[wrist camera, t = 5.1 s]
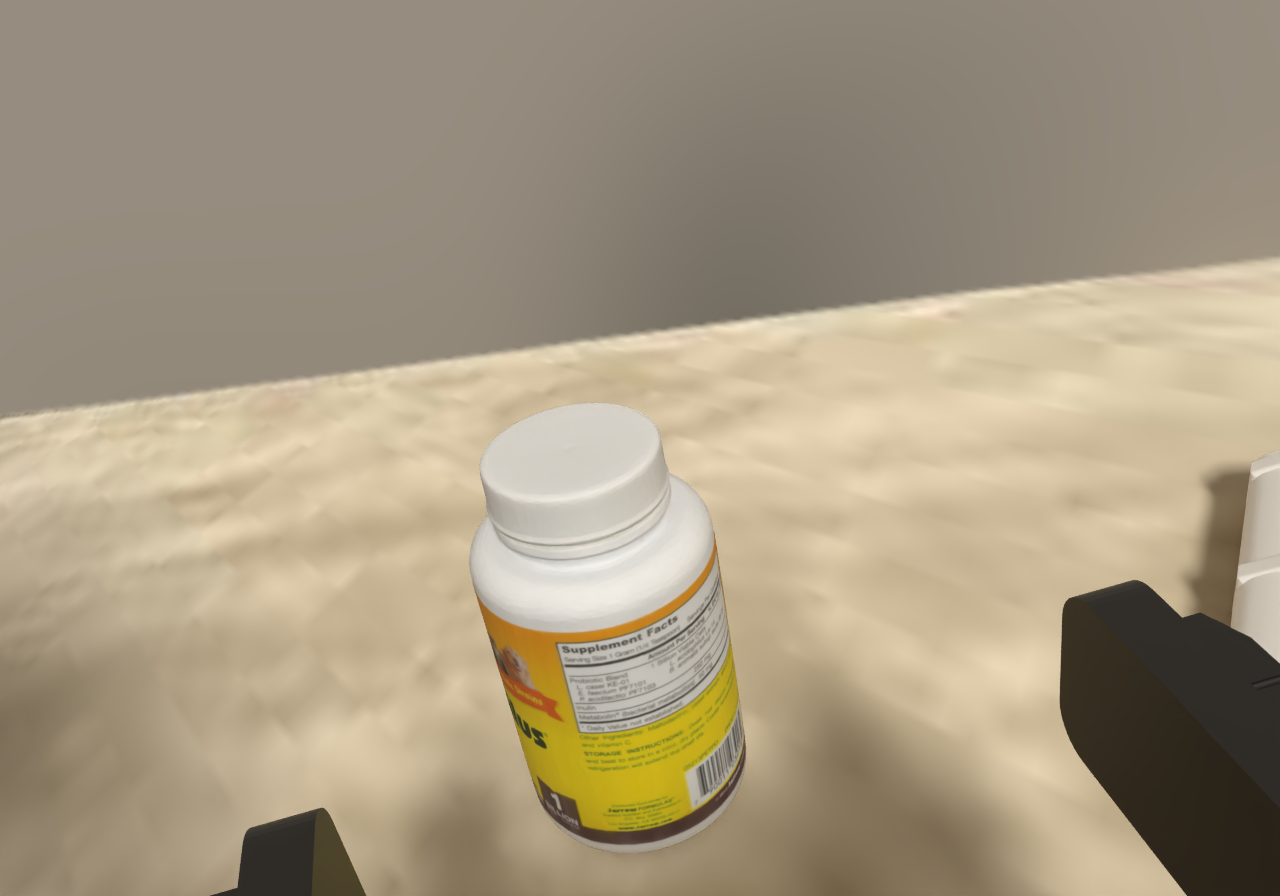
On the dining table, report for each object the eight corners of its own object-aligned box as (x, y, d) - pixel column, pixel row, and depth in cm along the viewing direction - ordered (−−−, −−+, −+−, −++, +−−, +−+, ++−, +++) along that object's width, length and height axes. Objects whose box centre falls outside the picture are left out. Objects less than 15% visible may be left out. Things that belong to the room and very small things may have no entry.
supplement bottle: (534, 721, 32) (445, 408, 26) (728, 683, 32) (678, 363, 26) (541, 887, 27) (435, 546, 21) (770, 842, 27) (718, 490, 22)
